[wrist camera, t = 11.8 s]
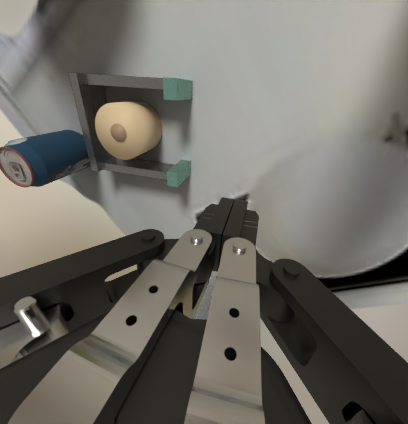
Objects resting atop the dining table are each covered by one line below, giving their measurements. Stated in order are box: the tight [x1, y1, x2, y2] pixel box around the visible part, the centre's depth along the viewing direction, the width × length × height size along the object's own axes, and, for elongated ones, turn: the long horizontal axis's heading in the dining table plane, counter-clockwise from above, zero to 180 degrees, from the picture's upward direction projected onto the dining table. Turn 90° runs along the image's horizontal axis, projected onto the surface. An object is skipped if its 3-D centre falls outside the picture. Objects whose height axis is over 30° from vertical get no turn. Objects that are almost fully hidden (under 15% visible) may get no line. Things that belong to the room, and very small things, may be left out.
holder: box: [69, 73, 192, 187], centre depth 30 cm, size 16×13×6 cm
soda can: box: [0, 130, 90, 187], centre depth 33 cm, size 7×7×12 cm
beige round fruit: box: [95, 101, 162, 160], centre depth 31 cm, size 7×7×6 cm
